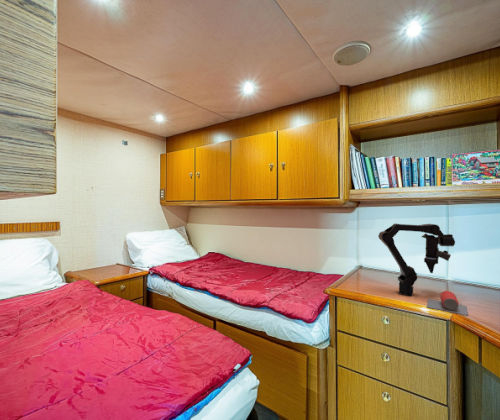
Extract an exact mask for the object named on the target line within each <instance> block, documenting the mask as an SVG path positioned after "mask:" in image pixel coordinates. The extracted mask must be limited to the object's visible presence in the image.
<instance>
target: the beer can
mask: <svg viewBox="0 0 500 420" xmlns="http://www.w3.org/2000/svg"><path fill="white" fill-rule="evenodd" d="M439 297H440V301H442V304H443V306H444V307H445V308H447V309H449V310H455V309H457V308H458V306H459V300H458V299H457V297H456V294H454V293H453V292H452V291H450V290H444V291H442V292H441V293H440V294H439Z"/></svg>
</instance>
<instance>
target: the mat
mask: <svg viewBox="0 0 500 420" xmlns="http://www.w3.org/2000/svg"><path fill="white" fill-rule="evenodd" d="M426 308H427V309H432V310H436V311H441V312H446V313H450V314H456V315H459V316H460V315H462V316H464V317H465V316H466V317H469V311H468V306H467V305H464V304H459V306H458V308H457V309H455V310H449V309H447V308H445V307H444V306H443V304H442V301H441V300H439V299H438V300H437V299H432V298H428V299H427V303H426Z"/></svg>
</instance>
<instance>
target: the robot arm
mask: <svg viewBox="0 0 500 420" xmlns="http://www.w3.org/2000/svg"><path fill="white" fill-rule="evenodd" d="M400 231H404V232H419V233H424V234H423V235H422V236H421V238H423V239H425V257H424V258H423V262H424V263H425V264H426V266H427V269H428V271H429V273H431V274H433V273H434V269H435V266H436V265H438V264H439V258H440V259H442V260H445V261H447V262H448V261H450V258H451V256H452V255H451V254H450V253H449V251H448V250H443V251H442V250H440V248H439V246H441V247H454V246H455V245H456V240H455V238H454V237H453V236H454V235H453V234H450V233H449V234H444V233H443V231H442V230H441V228H440V226H439V225H438V224H434V223H425V224H406V223H405V224H402V223H393V224H392V225H391V226H389V227H388V228H386V229H384V230H383V231H380V232H379V233H378V239H379V240H380V241H381V242H382V243H383V244H384V246H386V247H387V249H388V251H389V252H390V254H391V256H392V257H393V259H394V260H395V262H396V264H397V265H398V267H399V270H400V273H401V274H400V275H399V276H398V277H397V280H398V295H404V296H408V297H412V295H414V284H415V283H416V281H417V280H418V273H417V272H416V271H415V268H414V267H412V266H410V265H408V264H407V262H406V261H405V259H404V258H403V256H402V254H401V253H400V251H399V249H398V247H397V246H396V244H395V239H394V237H395V236H396V235H397V234H398V233H399V232H400Z"/></svg>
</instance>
